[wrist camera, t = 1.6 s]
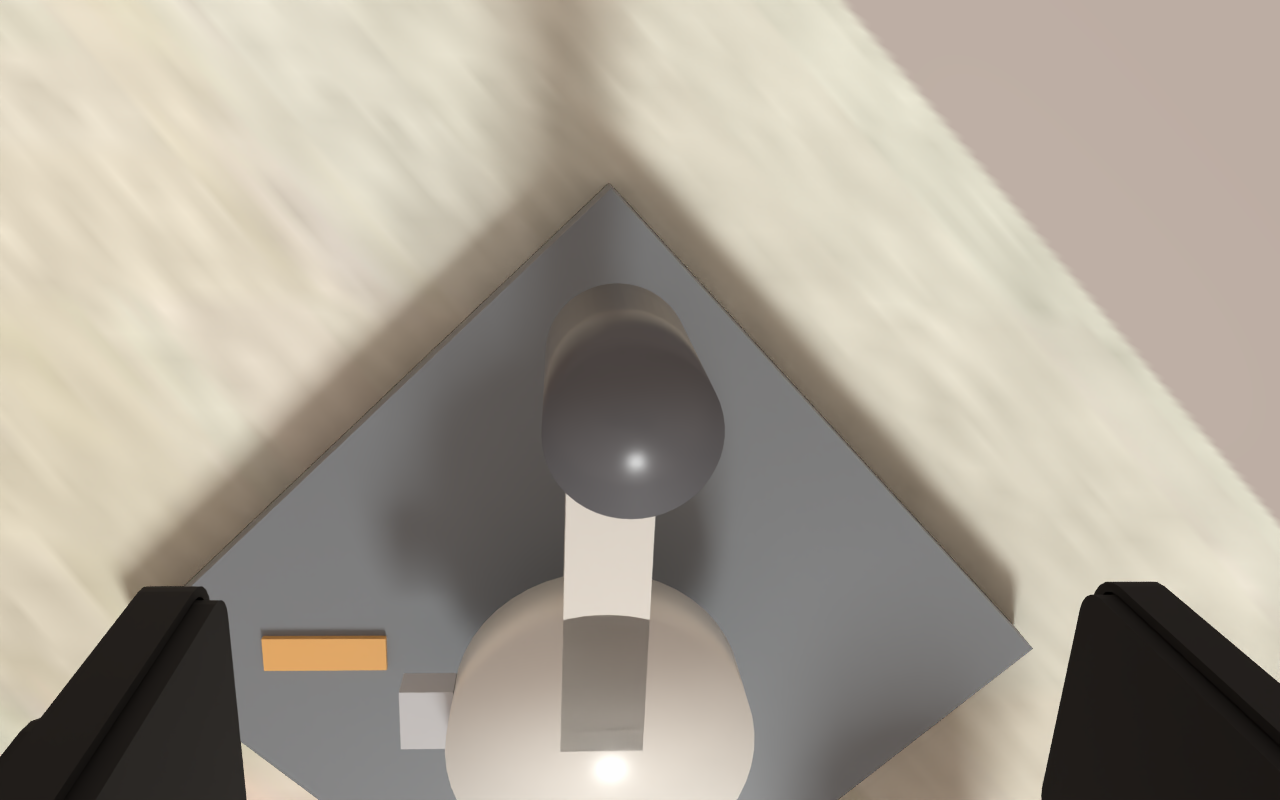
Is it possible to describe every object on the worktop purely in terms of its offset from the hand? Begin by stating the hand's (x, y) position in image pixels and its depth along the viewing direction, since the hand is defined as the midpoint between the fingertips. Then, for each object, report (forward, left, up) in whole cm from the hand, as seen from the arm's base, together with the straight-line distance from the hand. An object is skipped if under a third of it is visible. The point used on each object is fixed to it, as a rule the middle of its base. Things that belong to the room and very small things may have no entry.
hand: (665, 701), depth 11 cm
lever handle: (-6, +6, -17) cm, 19 cm away
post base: (-9, +8, -22) cm, 25 cm away
